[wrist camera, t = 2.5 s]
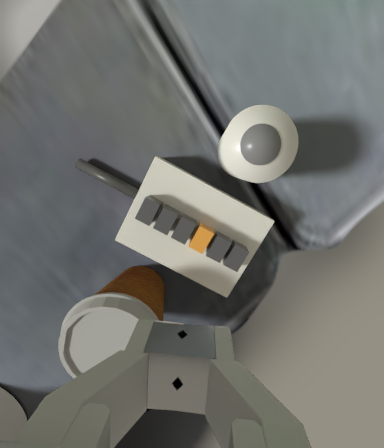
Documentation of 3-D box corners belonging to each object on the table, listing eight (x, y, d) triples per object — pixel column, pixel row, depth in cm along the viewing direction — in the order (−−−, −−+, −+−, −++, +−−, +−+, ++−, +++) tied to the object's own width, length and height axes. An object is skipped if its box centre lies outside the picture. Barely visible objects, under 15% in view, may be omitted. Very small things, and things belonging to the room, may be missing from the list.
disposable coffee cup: (137, 238, 32) (100, 278, 21) (192, 288, 34) (186, 353, 22) (90, 288, 34) (30, 351, 22) (143, 334, 35) (114, 417, 24)
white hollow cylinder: (252, 187, 30) (273, 195, 21) (207, 162, 30) (209, 160, 21) (280, 140, 29) (314, 128, 20) (233, 113, 29) (247, 89, 20)
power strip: (224, 282, 33) (228, 307, 27) (66, 200, 32) (35, 208, 26) (265, 214, 31) (280, 225, 25) (99, 123, 30) (73, 113, 24)
